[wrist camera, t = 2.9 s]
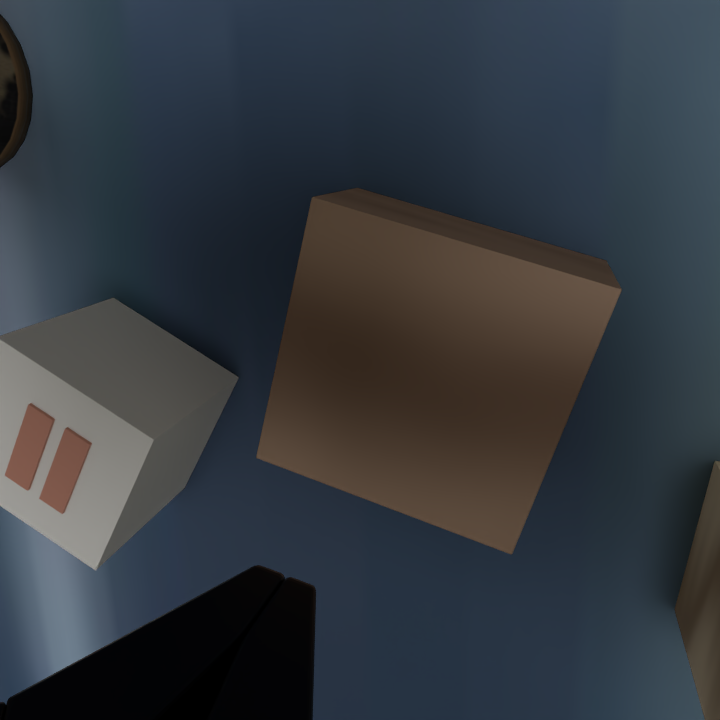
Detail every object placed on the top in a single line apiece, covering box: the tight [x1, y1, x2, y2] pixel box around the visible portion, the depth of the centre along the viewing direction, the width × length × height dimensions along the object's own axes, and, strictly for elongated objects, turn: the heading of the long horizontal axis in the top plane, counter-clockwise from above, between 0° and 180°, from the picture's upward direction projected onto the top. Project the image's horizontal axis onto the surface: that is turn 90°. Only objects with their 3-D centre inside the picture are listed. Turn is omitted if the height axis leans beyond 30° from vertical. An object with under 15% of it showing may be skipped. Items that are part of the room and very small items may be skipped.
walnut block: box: [256, 188, 622, 555], centre depth 17 cm, size 7×7×4 cm
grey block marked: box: [0, 298, 239, 570], centre depth 20 cm, size 5×5×5 cm
